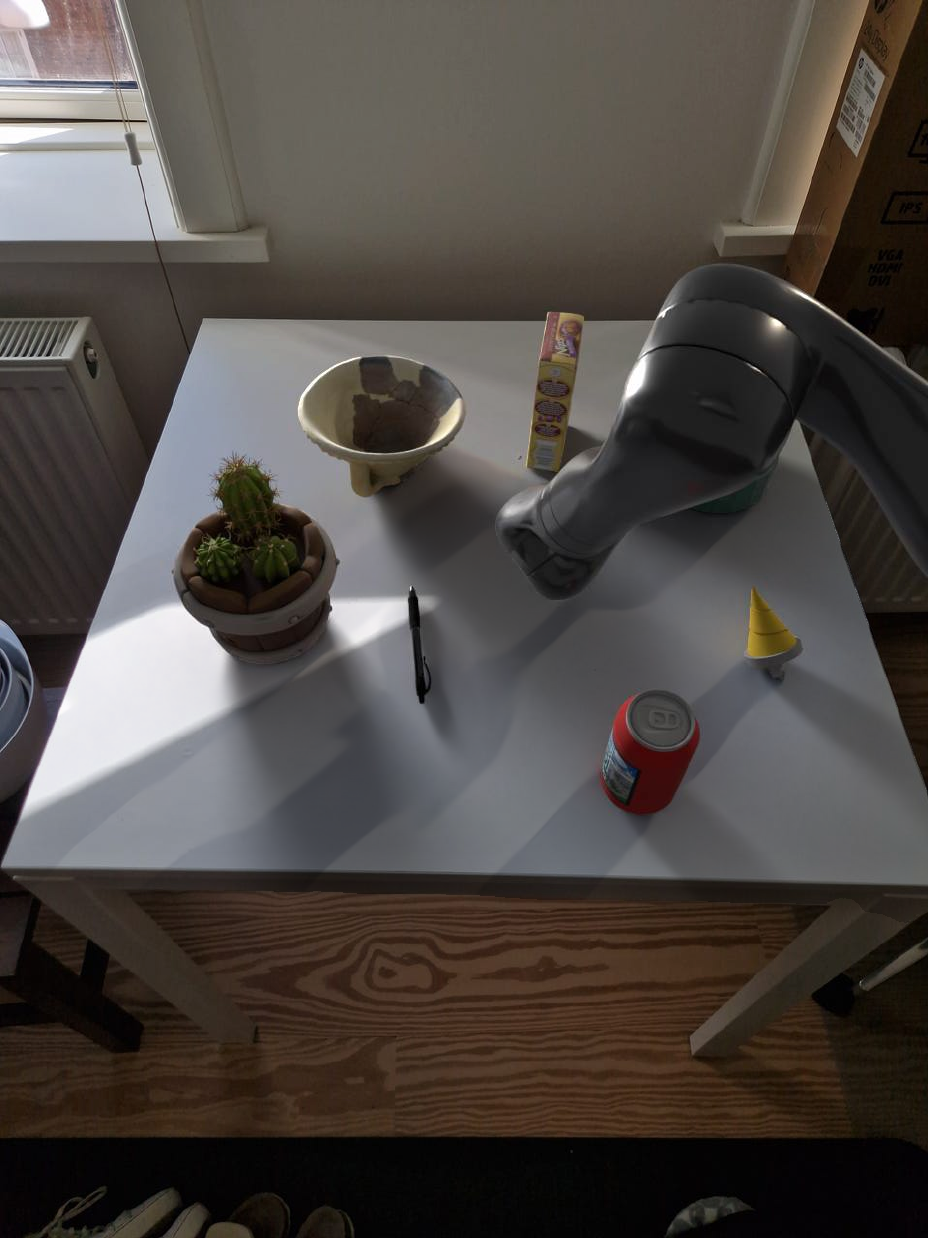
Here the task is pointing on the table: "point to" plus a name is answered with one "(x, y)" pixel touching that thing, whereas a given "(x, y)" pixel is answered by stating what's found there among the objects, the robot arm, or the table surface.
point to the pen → (417, 647)
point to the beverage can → (649, 751)
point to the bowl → (381, 417)
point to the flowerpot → (257, 570)
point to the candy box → (554, 390)
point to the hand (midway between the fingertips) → (769, 382)
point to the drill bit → (769, 639)
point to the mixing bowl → (740, 496)
